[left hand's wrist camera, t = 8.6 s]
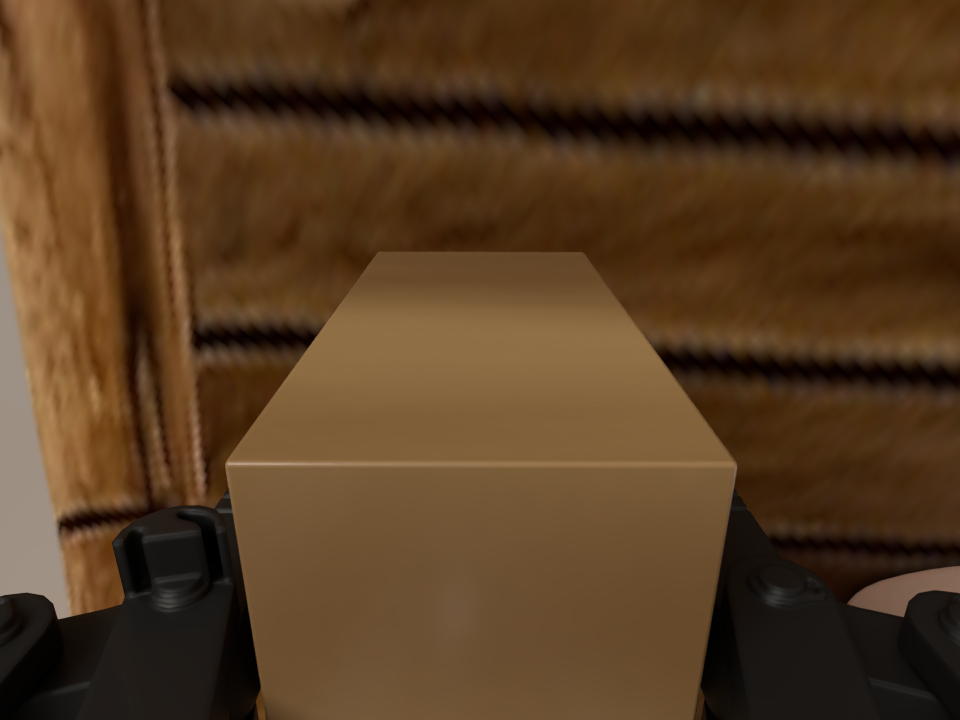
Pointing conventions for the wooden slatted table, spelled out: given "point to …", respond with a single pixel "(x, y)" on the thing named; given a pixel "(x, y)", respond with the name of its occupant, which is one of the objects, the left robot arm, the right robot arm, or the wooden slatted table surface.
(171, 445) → the wooden slatted table surface
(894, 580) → the anatomical model
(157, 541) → the left robot arm
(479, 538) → the bar
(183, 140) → the wooden slatted table surface
